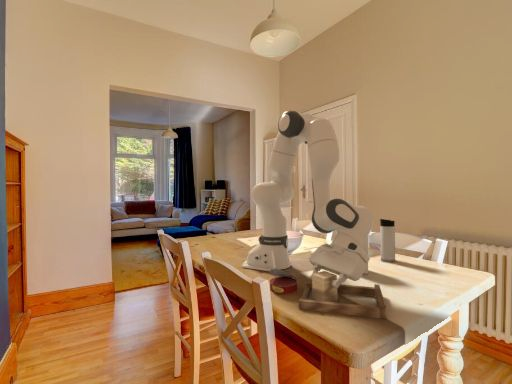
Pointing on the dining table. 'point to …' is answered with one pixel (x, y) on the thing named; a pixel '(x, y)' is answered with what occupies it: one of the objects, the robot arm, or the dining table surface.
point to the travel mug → (387, 240)
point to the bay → (348, 309)
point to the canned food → (282, 282)
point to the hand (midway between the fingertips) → (323, 282)
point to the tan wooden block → (324, 286)
